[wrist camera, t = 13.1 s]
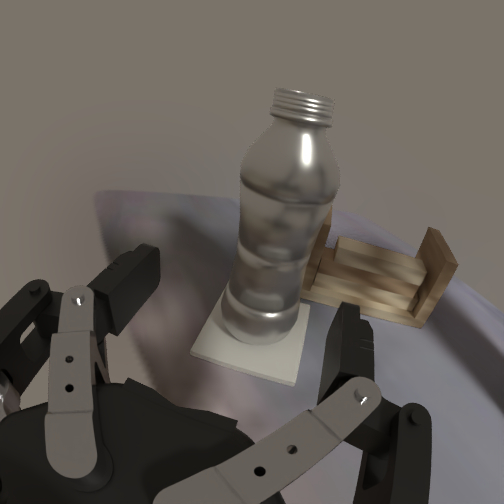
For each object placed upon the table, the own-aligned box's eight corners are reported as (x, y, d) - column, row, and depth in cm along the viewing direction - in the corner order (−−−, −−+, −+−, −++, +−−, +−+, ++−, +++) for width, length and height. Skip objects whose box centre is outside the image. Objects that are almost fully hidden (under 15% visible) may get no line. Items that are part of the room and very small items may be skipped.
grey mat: (309, 309, 31) (310, 305, 31) (293, 386, 23) (295, 382, 22) (227, 286, 32) (228, 282, 32) (190, 354, 24) (190, 350, 24)
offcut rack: (411, 288, 37) (439, 230, 32) (421, 328, 30) (458, 264, 25) (302, 258, 39) (319, 193, 34) (293, 295, 33) (314, 221, 28)
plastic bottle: (227, 297, 30) (257, 83, 19) (293, 311, 30) (350, 102, 19) (210, 345, 25) (240, 83, 14) (288, 362, 24) (369, 110, 13)
